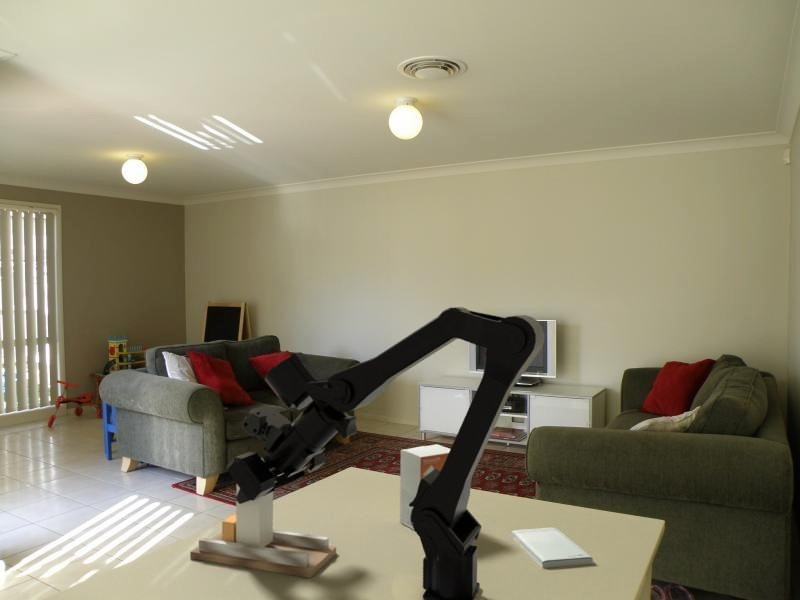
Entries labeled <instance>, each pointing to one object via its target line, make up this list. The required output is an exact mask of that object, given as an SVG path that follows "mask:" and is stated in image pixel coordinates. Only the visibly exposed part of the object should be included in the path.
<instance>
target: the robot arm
mask: <svg viewBox="0 0 800 600" xmlns="http://www.w3.org/2000/svg"><path fill="white" fill-rule="evenodd" d="M458 339H459V340H463V341H465V342H468V343H470V344H472V345H475V346H478V347H482V348H486V351H485V357H484V367H483V375H482V378H481V380H480V383H479V385H478V387H477V389H476V391H475V393H474V396H473V398H472V401H470V405H469V407H468V409H467V412H466V414H465V416H464V418H463V421H462V423H461V426H460V427H459V430H458V431H457V434H456V436H455V439H454V441H453V443H452V445H451V448H449V449H450V452H449V454H448V456H447V458H446V461H445V463H444V465H443V467H442V469H441V471H439V470H438V469H436V468H435V469H434V470H433V471H431V472H430V473H429V474H427V475H426V476H425V477H423V478H422V479H421V481H420V483H419V486H418V490H417V494H416V497H415V498H414V500H413V501H412V502H411V503H410V504H409V506H410V507H413V509H412V511H411V515H410V521H411V523H412V525H413V528H414V530H413V531H415V533H416V535H417V536H418V537H419V540H420V543H421V545H422V549H423V551H424V555H425V556H424V557H423V559H422V589H423V590H425V591H424V592H423V594H422V600H475V599H476V597H477V595H478V592H479V590H480V585H481V583H480V582H478V546H476V545H473V544H474V542H475V541H477V539H478V538H479V536H480V532H481V530H482V525H481V523H480V522H479V520H477V519H476V518H475V516H473V514H472V513H471V512H470V511H469V510H468V504H469V499H470V496H471V487H472V479H473V476H474V473H475V470H476V468H477V466H478V464H479V462H480V460H481V457H482V455H483V453H484V451H485V449H486V448H487V447H486V446H487V444H488V442H489V440H490V438H491V435H492V434H493V432H494V429H495V427H496V426H497V422H498V420H499V418H500V416H501V413H502V411H503V410H504V407H505V405H506V403H507V400H508V398H509V396H510V394H511V392H512V390H513V388H514V386H515V385H516V384H517V383H518V380H519V379H520V378H521V377H522V375H523V374H524V373H525V372H526V370H527V369H528V368H529V367H530V365H531V364H532V362H533V361H534V359H535V358H536V356H537V355H538V354H539V352H540V351H541V349H542V347H543V346H544V343H545V339H546V338H545V332H544V329H543V327H542V325H541V324H540V323H539V321H538V320H537V319H535V318H534V317H532V316H529V315H526V314H523V315H522V314H519V315H518V314H517V315H510V316H507V317H503V316H498V315H494V314H489V313H483V312H477V311H473V310H469V309H467V308H465V307H462V306H461V307H455V306H454V307H448V308H446V309H443V311H441V313H440V314H439V315H437V316H436V317H434V318H433V319H432V320H430V321H428V322H427V323H426V324H424V325H422V326H421V327H419V328H418V329H417V330H414V332H412V333H410V334H409V335H407V336H406V337H404V338H402V339H401V340H399V341H398V342H396V343H394V344H393V345H392V346H391V347H388V348H387V349H386V350H384V351H383V352H381V353H380V354H378V355H377V356H375V357H373V358H369V359H367V360H365V361H362V362H359V363H357V364H354V365H351V366H349V367H346V368H344V369H342V370H338V371H337V372H335V373H332V374H331V375H328V376H324V377H321V376H320V375H319V374H318V373H317V371H316V370H315V369H314V367H313V366H312V365H311V364H310V363H309V362H308V360H307V357H306V356H305V355H304V353H303V352H301V351H299V352H293V353H292V354H291V355H290V356H289V357H288V358H286V359H283V360H282V361H280V362H279V363H278V364H277V365H276V366H273V367H271V368H270V369H269V371H268V372H266V375H265V376H264V381H265V382H266V383H267V384H268V385H269V387H270V388H271V389H272V391H273V393H275V394H276V396H277V397H278V398H279V399H280V401H281V402H282V403H283V405H284V406H285V407H286V409H289V410H290V409H293V408H295V409H296V410H298V411H300V410H302V409H304V408H305V407H306V408H305V409H304V410H303V411H302V412H301V413H300V414H299V415H298V416H297V417H296V418H295V419H294V420H293V421H292V422H291V421H290V420H289V419H288V418H287V417H286V416H285V415H282V414H281V413H280V412H278V411H277V410H276V409H273V408H272V407H270V406H267V405H266V406H265V405H264V406H260V407H257V408H254V409H253V408H252V409H251V410H250V411H249V412H247V414H246V416H245V417H243V418H242V420H241V421H242V426H241V427H242V430H243V431H244V432H246V433H247V434H248V435H250V436H251V437H253V438H258V439H259V440H260V441H262V442H264V443H263V444H262V445H261V449H263V451H264V452H265V453H268V454H266V455H264V456H262V457H260V455H259V453H258V452H253V451H248V452H245V453H243V454H240V455H238V456H234V458H233V459H232V460H231V461H230V462H229V463H228V464H227V465H226V471H227V472H228V473H229V474H230V476H231V478H232V479H233V480H234V482H235V483H236V486H237V485H238V486H239V487H240V490H239V492H238V495H237V497H235V501H236V500H237V502H238V503H239V504H242V503H245V502H247V501H250V500H252V501H254V500H256V499H258V498H260V497H262V496H265V495H267V494H269V493H271V492H273V493H274V492H275V491H276V489H277V488H281V487H283V486H285V485H288V484H290V483H292V482H295V481H297V480H300V479H301V478H303V477H305V476H306V474H305V472H304V470H306V469H307V471H308V472H309V473H310V474H311V473H313V472H314V471H317V470H318V469H320V468H321V466H323V465H324V464H325V463H326V452H324V451H325V450H326V447H325V445H326V444H327V443H328V442H329V441H330V440H331V439H332V438H334V436H335V435H336V434H337V433H338V434H339V436H341V438H343V439H346V438H349V437H351V436H353V435H355V434H357V433H358V429H357V424H356V420H357V417H356V416H351V415H349V414H347V413H349V412H351V411H354V410H357V409H361V408H363V407H365V406H368V405H370V404H372V402H374V401H375V400H376V399H377V398H378V397H380V396H381V394H383V392H384V391H386V390H387V388H388V387H389V386H390V384H392V383H393V382H394V381H395V380H396V379H397V378H398V377H400V376H401V375H402V374H404V373H406V372H407V371H408V370H410V369H411V368H414V367H415V366H417V365H418V364H419V363H421V362H423V361H424V360H426V359H427V358H429V357H431V356H432V355H435V354H436V353H437V352H439V351H440V350H442V349H443V348H445V347H446V346H448V345H450V344H451V343H453V342H454V341H456V340H458ZM308 463H310V466H309V464H308Z"/></svg>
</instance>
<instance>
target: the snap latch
mask: <svg viewBox="0 0 800 600" xmlns="http://www.w3.org/2000/svg"><path fill="white" fill-rule="evenodd" d="M221 522H222V523H221V528H222V529H221V533H222V541H227V542H234V543H236V513H234V514H232V515H231V516H229V517H227V518H225V519H223V520H222V521H221Z"/></svg>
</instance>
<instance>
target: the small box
mask: <svg viewBox="0 0 800 600" xmlns="http://www.w3.org/2000/svg"><path fill="white" fill-rule="evenodd" d="M450 449H451V448H449V447H446V446H443V445H440V444H437V443H436V444H431V445H423V446H416V447H412V448H406V449H401V450H400V478H399V480H400V482H399V483H400V486H399V487H400V488H399V489H400V491H399V498H400V499H399V523H401V524H402V525H404V526H406V527H407V528H409V529H411V530H413V531H415V530H414V528H413V525H412V523H411V521H410V515H411V511H412V509H413V507H410V506H409V504H410V503H411V502H412V501H413V500H414V498H415V497H416V494H417V490H418V486H419V483H420V481H421V479H422V478H423V477H425V476H426V475H427V474H429V473H430V472H431V471H433V470H434V469H435V468H436V469H438V470H439V471H441V469H442V467H443V465H444V463H445V461H446V458H447V456H448V454H449V452H450Z"/></svg>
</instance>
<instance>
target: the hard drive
mask: <svg viewBox="0 0 800 600" xmlns="http://www.w3.org/2000/svg"><path fill="white" fill-rule="evenodd" d="M510 537H511V538H512V539H513V540H514V541H515V542H516V543H517V544H518V545H519V546H520V548H521V549H523V550H524V552H526V553H527V555H529V556H530V557H531V559H533V560H534V561H535V562H536V563H537V564H538V565H539V566H540V567H541V568H542V569H545V568H557V567H568V566H569V567H570V566H581V565H593V564H594V560H593V559H594V558H593V557H592V556H591V555H590V554H588V553H587V552H586V551H585V550H583V549H582V548H581V547H580V546H579V545H577V544H576V543H575V542H574V541H573V540H572V539H570V538H569V537H568V536H567V535H565V534H564V533H563V532H562V531H560V530H559V529H558V528H557V527H541V528H525V529H515V530H511V532H510Z"/></svg>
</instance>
